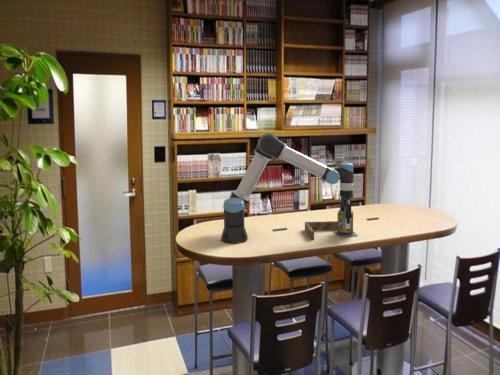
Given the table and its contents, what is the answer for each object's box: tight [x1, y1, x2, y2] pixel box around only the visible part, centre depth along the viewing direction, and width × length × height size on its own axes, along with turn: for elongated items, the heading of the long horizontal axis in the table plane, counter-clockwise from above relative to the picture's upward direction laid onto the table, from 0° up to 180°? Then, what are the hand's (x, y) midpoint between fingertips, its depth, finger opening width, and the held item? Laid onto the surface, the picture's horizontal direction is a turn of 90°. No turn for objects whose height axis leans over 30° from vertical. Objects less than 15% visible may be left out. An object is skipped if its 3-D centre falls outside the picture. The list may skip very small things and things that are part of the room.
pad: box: [332, 230, 358, 238], centre depth 274 cm, size 12×12×1 cm
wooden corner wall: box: [304, 220, 338, 241], centre depth 273 cm, size 29×22×5 cm
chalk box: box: [336, 207, 354, 233], centre depth 273 cm, size 9×9×15 cm
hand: (345, 226), depth 273 cm, fingers closed on chalk box, 10 cm apart
